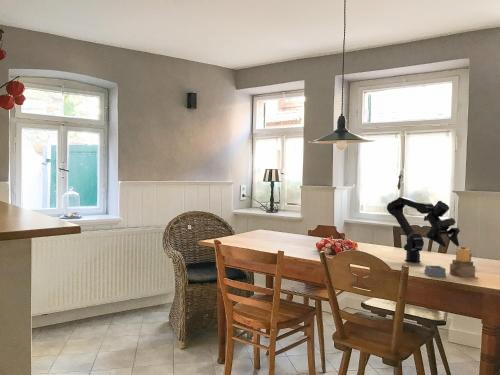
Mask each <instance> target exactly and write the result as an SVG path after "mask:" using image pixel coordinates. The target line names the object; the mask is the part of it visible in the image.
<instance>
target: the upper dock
mask: <svg viewBox="0 0 500 375" xmlns="http://www.w3.org/2000/svg"><path fill="white" fill-rule="evenodd" d="M449 274H450V275H454V276H458V277H461V278H468V277H475V276H476V265H474V261H472V260H471V261H469V262H461V261H457V260H456V259H452V262H451V263H449Z"/></svg>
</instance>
